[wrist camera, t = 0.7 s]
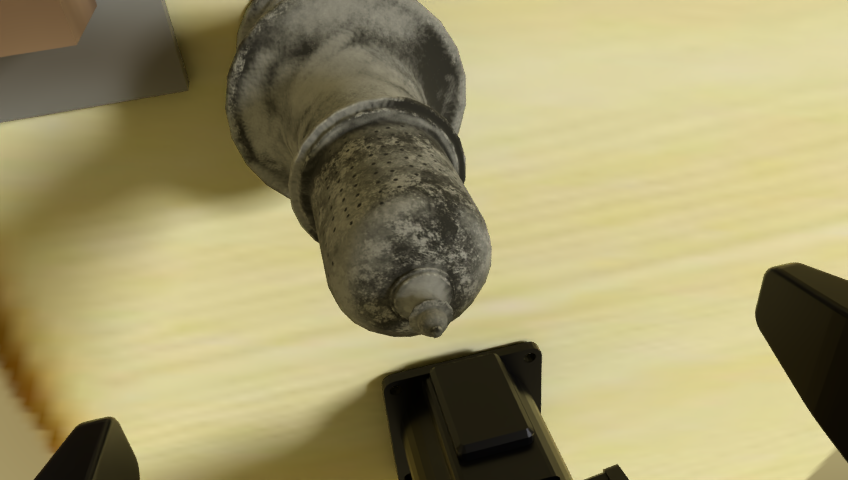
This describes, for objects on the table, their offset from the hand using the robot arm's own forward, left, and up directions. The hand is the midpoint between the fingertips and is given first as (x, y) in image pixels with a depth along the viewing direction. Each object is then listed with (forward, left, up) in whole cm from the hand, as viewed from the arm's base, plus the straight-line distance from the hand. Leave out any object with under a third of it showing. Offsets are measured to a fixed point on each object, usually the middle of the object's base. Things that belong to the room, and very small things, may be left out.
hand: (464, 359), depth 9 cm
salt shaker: (0, 0, -13) cm, 13 cm away
